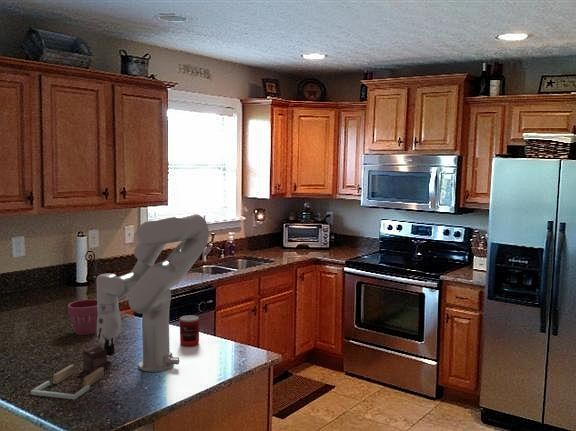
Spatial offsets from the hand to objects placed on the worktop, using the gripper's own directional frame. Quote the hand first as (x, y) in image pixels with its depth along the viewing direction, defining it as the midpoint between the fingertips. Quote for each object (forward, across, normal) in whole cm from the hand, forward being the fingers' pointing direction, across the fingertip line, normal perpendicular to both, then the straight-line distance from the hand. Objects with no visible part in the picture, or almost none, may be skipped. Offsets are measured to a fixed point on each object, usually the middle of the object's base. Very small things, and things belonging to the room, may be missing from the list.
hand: (109, 354), depth 214 cm
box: (+2, -10, 0) cm, 10 cm away
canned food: (+2, +25, -22) cm, 33 cm away
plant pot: (+2, +28, +28) cm, 40 cm away
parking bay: (+2, -30, 0) cm, 30 cm away
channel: (+2, -20, 0) cm, 20 cm away
